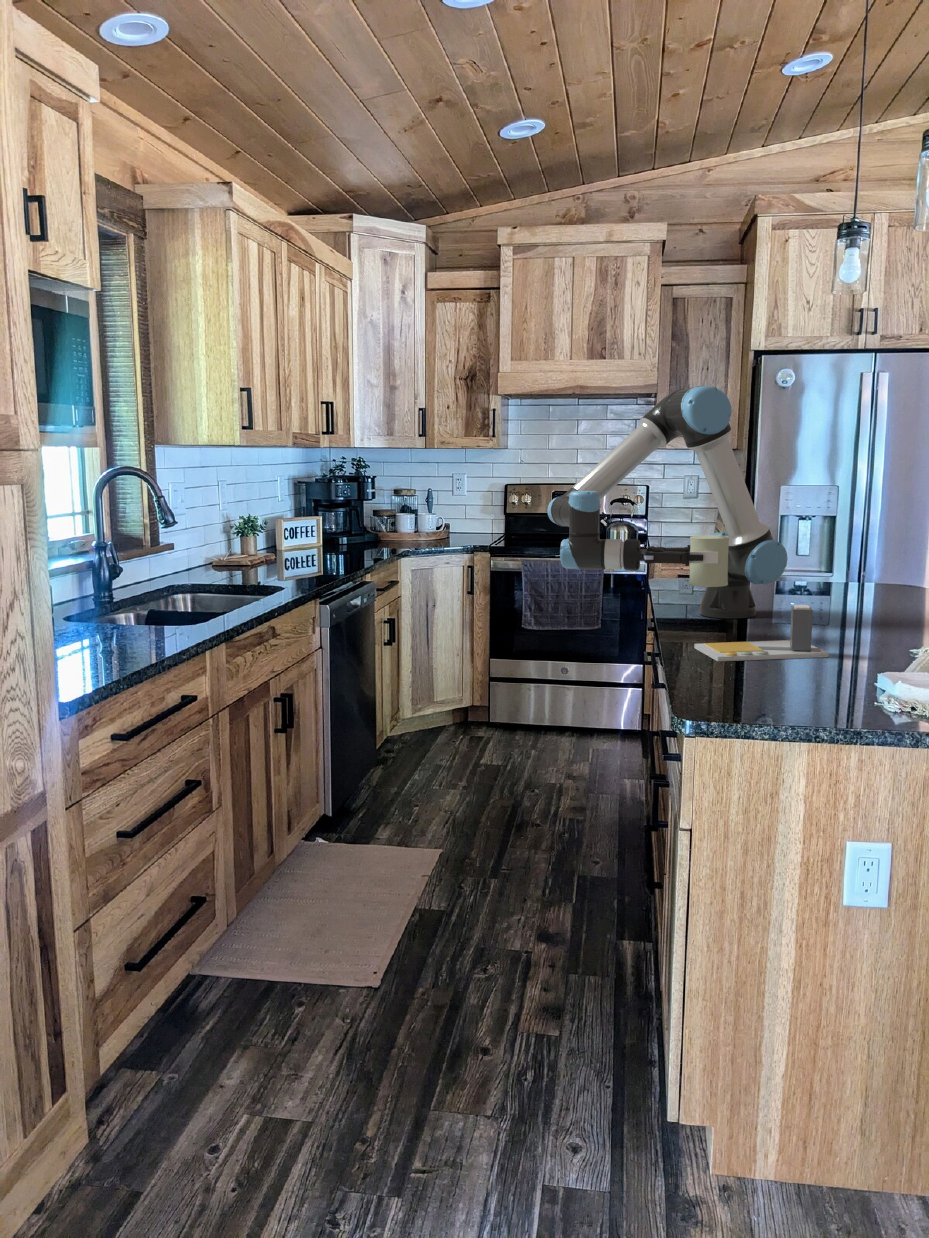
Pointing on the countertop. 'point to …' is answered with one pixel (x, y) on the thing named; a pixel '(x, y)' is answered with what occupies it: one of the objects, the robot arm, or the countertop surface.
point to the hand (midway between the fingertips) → (718, 555)
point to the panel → (756, 651)
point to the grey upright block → (801, 627)
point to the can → (710, 571)
